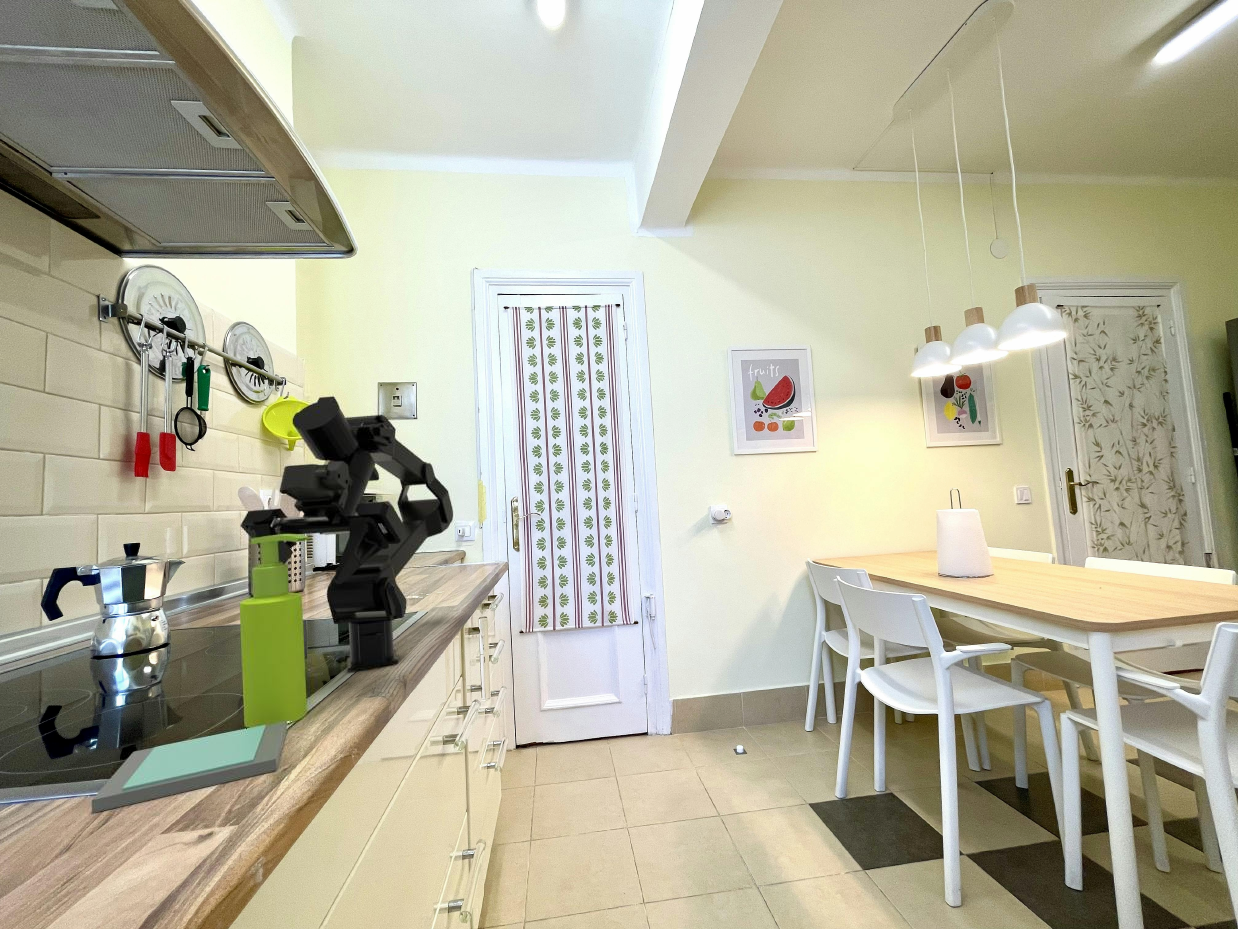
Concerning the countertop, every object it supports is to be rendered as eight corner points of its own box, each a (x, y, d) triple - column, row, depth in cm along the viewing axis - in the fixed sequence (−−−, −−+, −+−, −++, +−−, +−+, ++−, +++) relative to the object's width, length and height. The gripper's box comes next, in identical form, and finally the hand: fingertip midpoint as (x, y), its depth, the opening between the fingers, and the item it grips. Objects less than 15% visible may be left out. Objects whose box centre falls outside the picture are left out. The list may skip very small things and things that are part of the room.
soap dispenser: (297, 727, 61) (288, 535, 61) (231, 731, 61) (224, 539, 62) (326, 706, 67) (318, 531, 67) (266, 710, 67) (259, 535, 67)
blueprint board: (133, 762, 55) (133, 749, 55) (286, 730, 60) (286, 719, 60) (91, 813, 46) (91, 797, 46) (276, 770, 51) (275, 756, 51)
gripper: (244, 447, 74) (180, 548, 63) (386, 436, 73) (346, 537, 62) (288, 503, 82) (239, 601, 71) (417, 494, 81) (386, 593, 70)
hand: (299, 583), depth 68 cm, fingers open, 9 cm apart
